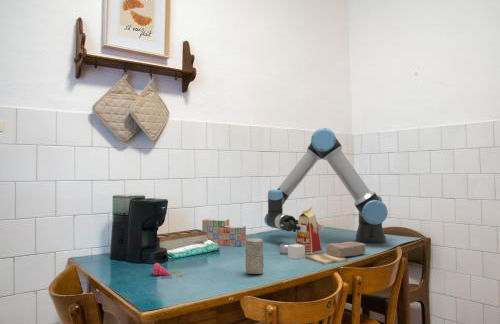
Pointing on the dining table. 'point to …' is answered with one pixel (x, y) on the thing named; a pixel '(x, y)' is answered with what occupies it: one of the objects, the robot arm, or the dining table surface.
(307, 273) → the dining table surface
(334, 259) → the plate
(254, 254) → the carving
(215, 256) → the dining table surface
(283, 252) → the grey tin
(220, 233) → the stack of blocks
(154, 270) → the toy pieces
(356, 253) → the brick
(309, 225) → the milk carton
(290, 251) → the white cube
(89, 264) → the dining table surface
